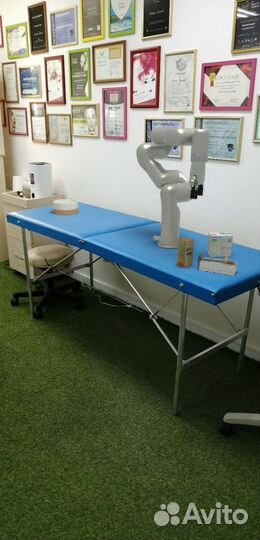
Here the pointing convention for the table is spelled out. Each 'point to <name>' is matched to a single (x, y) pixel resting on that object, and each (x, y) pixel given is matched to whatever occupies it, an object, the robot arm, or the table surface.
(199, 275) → the table surface
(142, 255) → the table surface
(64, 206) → the bowl
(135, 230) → the table surface
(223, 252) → the light bulb box
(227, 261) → the plunger
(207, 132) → the robot arm
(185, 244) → the shoe polish box
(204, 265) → the gauge rail
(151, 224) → the table surface
